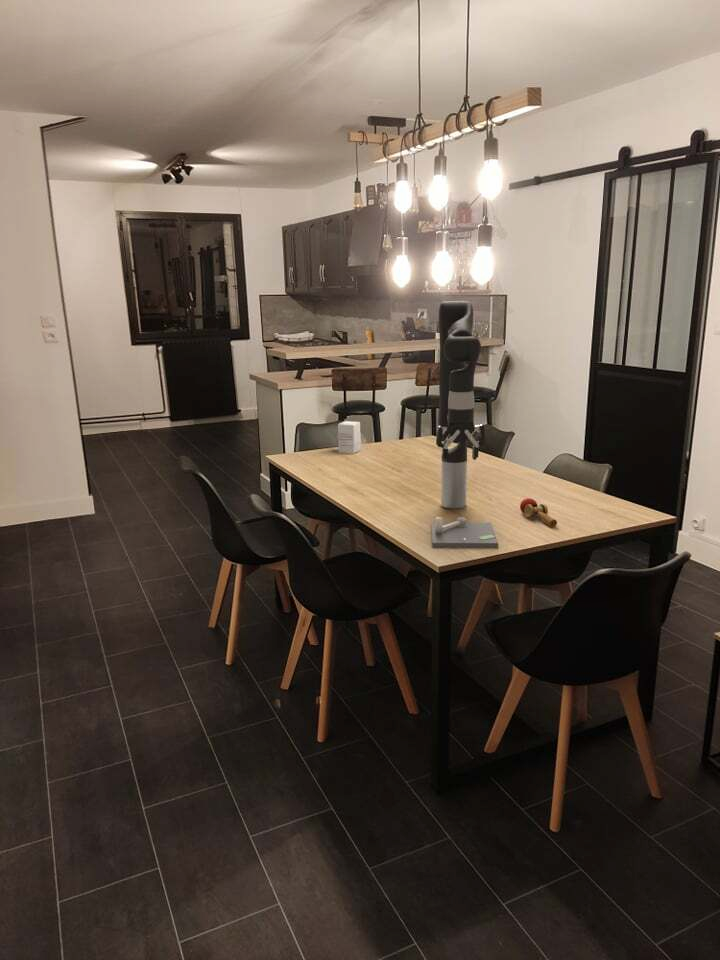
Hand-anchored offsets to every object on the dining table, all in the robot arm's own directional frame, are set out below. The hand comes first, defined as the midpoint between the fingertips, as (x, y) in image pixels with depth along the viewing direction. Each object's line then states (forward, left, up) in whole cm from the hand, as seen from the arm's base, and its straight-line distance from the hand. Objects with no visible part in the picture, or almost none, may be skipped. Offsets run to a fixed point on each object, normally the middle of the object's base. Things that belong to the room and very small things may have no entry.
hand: (460, 459), depth 202 cm
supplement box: (-135, -46, -28) cm, 145 cm away
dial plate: (-9, +2, -27) cm, 29 cm away
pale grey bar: (-12, -2, -26) cm, 28 cm away
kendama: (-27, +29, -28) cm, 48 cm away
